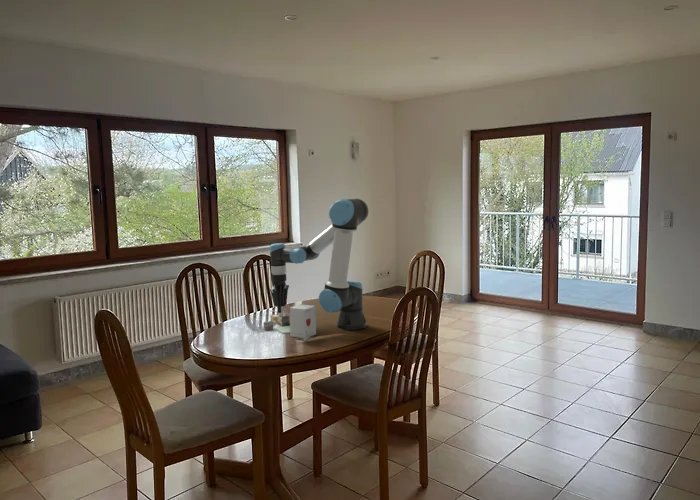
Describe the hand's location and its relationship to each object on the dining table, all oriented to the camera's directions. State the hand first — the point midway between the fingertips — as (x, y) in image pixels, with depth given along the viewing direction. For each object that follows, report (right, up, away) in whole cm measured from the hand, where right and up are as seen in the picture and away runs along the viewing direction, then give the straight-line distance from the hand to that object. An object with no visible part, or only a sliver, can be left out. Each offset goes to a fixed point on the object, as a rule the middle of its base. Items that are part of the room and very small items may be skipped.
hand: (281, 318), depth 280 cm
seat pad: (+6, -4, -17) cm, 18 cm away
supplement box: (+14, -6, -27) cm, 31 cm away
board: (-2, -4, -11) cm, 12 cm away
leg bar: (0, -2, -4) cm, 4 cm away
